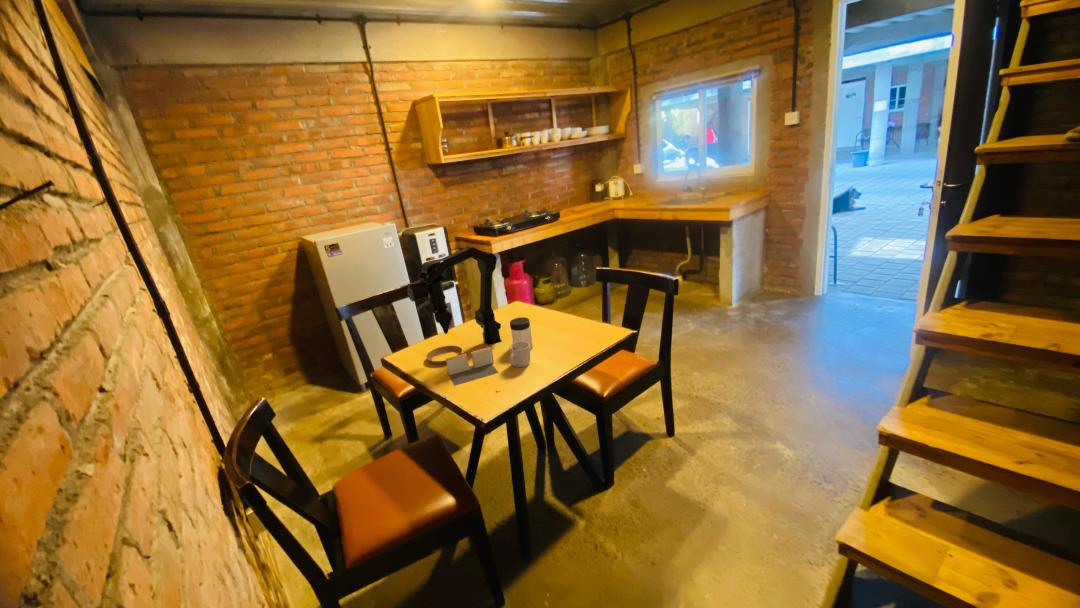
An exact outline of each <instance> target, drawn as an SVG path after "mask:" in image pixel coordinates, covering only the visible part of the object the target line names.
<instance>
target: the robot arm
mask: <svg viewBox="0 0 1080 608" xmlns="http://www.w3.org/2000/svg"><path fill="white" fill-rule="evenodd" d="M468 259H472V260H475V261H476V263H477V268H478V270H479V272H480V273H479V274H480V285H479V286H480V287H479V290H480V291H479V293H480V294H479V296H480V298H479V307H478V309H476V310H474V320H475V323H476V324H477V325H478V326H480V328H482V331H483V332H482V339H483V342H484V343H485V344H486V345H487V346H490V345H494V344H497V343H501V342H502V339H501V335H500V330H501V329H502V324H501V322H498V321H497V320H496V318H495V313H494V310H493V308H492V295H493V274H494V272H495V269H496V267H497V256H496V255H495V253H492V252H487V251H483V250H480V249H478V248H477V247H475V246H470V245H468V246H465V247H464V248H462V249H460V250H458V251H456V252H453V253H451V254H449V255H446V256H445V257H442V258H438V259H433V260H428V261H425V262H424V263H422V265H421V269H420V270H421V271H420V273H419V275H418V278H417V281H414V282H409V283H407V289H406V290H407V291H406V292H407V293H406V294H407V296H408V298H409V300H410V301H411V302H416V301H418V300H422V299H425V298H428V300H426V301H424V302H422V303H421V304H419V305H418V306H417V307H416V310H417V312H418V313H419V315H420V316H421V317H422V318H423V317H424V316H426V315H427V314H428V313H430V312H431V313H432V314H433V316H434V320H435V322H436V323H438V324H439V325H440V327H441V329H442V330H443V333H444V334H445V335H446V334H448V333H449V329H450V325H451V320H453V316H452V312H451V311H450V310H449V309H448V305H447V303H446V295H445V293H444V288H443V284H442V282H444V281H446V280H447V278H446V277H445V276H443V274H444V273H445V272H446V271H447V270H448V269H450V268H452V267H454V266H456V265H458V264H460V263H462V262H464V261H467V260H468Z"/></svg>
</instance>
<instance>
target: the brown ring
mask: <svg viewBox="0 0 1080 608" xmlns="http://www.w3.org/2000/svg"><path fill="white" fill-rule="evenodd" d="M462 352H463V349H462V347H460V346H458V345H443V346H440V347H436V348H434V349H432V350H431V351H429V352H428V353H427V354H426V355H425V356H426V359H427V360H428V361H429V362H431V363H432V364H435V365H444V364H446V359H445V360H439V361H437V360H433V358H435V357H439V356H441V355H442V356H443V355H446V354H450V353H457V354H458V355H462V354H463V353H462Z"/></svg>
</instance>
